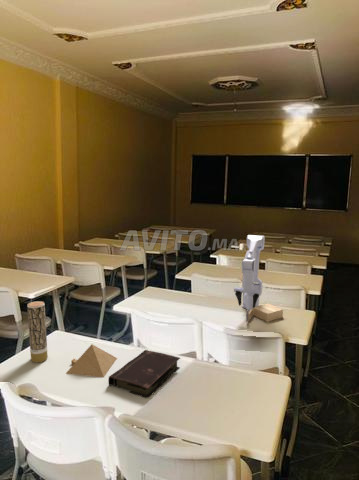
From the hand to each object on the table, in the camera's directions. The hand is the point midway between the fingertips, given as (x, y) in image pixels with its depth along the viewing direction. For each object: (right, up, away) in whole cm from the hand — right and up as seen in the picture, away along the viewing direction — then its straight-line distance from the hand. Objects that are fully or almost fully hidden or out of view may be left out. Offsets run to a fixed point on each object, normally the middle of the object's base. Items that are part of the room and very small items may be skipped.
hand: (246, 306), depth 205 cm
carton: (+14, -8, +12) cm, 19 cm away
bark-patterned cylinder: (-96, -16, -40) cm, 106 cm away
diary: (-49, -19, -53) cm, 75 cm away
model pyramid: (-73, -18, -45) cm, 87 cm away
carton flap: (+2, -8, +6) cm, 10 cm away
